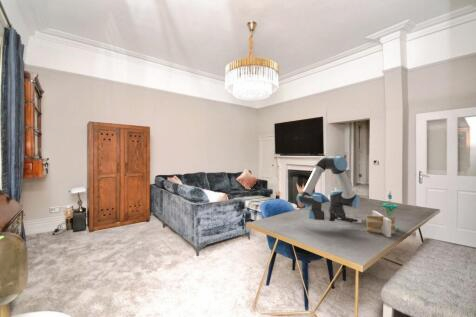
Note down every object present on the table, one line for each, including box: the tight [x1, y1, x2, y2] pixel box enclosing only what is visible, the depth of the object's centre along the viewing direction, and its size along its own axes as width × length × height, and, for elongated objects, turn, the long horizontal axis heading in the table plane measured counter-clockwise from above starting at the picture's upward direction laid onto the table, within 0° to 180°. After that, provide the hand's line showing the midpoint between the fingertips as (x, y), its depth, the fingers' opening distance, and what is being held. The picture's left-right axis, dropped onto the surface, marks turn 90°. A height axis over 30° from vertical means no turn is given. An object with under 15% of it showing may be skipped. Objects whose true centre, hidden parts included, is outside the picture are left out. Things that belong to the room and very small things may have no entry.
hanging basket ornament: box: [381, 190, 399, 232], centre depth 170 cm, size 11×11×30 cm
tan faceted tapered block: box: [365, 214, 396, 235], centre depth 161 cm, size 2×18×12 cm, turn 79°
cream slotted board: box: [371, 210, 392, 238], centre depth 165 cm, size 26×2×12 cm, turn 169°
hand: (357, 218), depth 165 cm, fingers open, 13 cm apart
